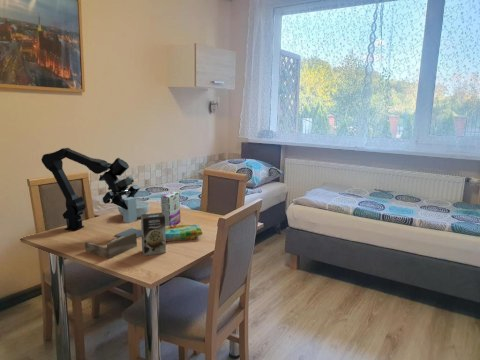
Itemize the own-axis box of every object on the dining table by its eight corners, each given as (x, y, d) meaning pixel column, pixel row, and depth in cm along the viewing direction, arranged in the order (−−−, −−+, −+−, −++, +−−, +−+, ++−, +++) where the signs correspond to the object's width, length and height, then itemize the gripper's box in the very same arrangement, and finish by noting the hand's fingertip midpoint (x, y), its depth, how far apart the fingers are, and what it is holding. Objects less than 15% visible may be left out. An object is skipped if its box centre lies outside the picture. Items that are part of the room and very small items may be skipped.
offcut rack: (85, 251, 149) (84, 238, 148) (113, 240, 162) (112, 227, 161) (109, 258, 143) (108, 244, 142) (136, 246, 156) (136, 233, 155)
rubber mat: (114, 236, 168) (114, 234, 167) (131, 229, 177) (131, 228, 177) (132, 240, 163) (132, 239, 162) (148, 233, 172) (148, 231, 172)
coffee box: (144, 256, 146) (142, 218, 142) (141, 250, 152) (140, 214, 148) (166, 252, 149) (165, 216, 146) (163, 247, 155) (162, 211, 152)
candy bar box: (172, 220, 191) (171, 191, 188) (180, 222, 189) (180, 192, 186) (161, 227, 180) (160, 196, 177) (170, 228, 179) (169, 196, 176)
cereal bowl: (145, 221, 190) (144, 208, 188) (114, 220, 190) (113, 208, 188) (153, 212, 206) (152, 200, 205) (124, 211, 206) (124, 199, 205)
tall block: (123, 221, 166) (122, 199, 164) (131, 219, 171) (130, 196, 168) (129, 223, 165) (127, 200, 162) (136, 220, 169) (135, 197, 167)
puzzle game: (157, 225, 170) (198, 222, 175) (157, 234, 171) (198, 231, 176) (157, 233, 159) (202, 230, 164) (158, 243, 160) (202, 240, 165)
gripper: (105, 174, 157) (124, 202, 154) (136, 168, 173) (154, 193, 170) (94, 189, 162) (112, 217, 159) (125, 182, 178) (142, 207, 175)
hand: (131, 207), depth 166 cm, fingers closed on tall block, 5 cm apart
